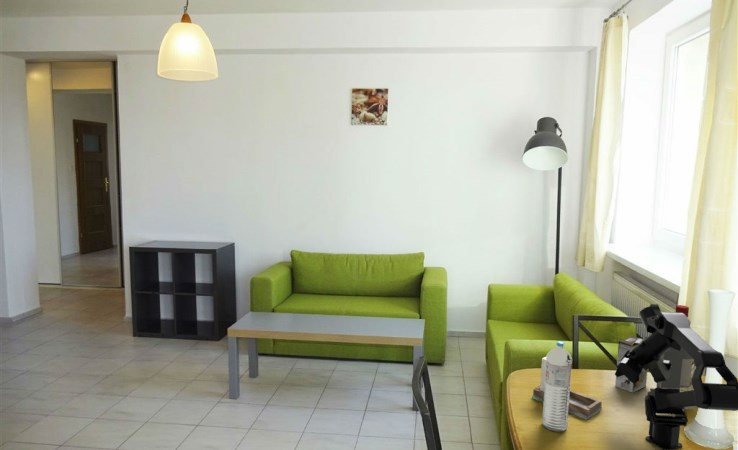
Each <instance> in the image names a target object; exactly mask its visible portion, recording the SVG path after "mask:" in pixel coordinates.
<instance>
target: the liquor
mask: <svg viewBox="0 0 738 450" xmlns="http://www.w3.org/2000/svg"><path fill="white" fill-rule="evenodd" d="M675 312H677V313H684V314H685V315H686V317H687V318H689V312H690V307H689V306H687V305H683V304H682V305H681V304H677V305H676V306H675ZM660 358H661V359H663V360H667V361H670V362H671V363H672V367H671V369H670V370H669V371H670V372H671V373H670V377H669V379H668V381H664V382H659V383H656V387H655V388H674V389H680V392H685V391H692V390H693V386H692V381H691V380H692V377H693V374H694V371H695V369H696V366H695V362H694V359H693V358H692V357H691V356H690V355H689V354H688V353H687V352H686V351H685V350H684V349H683V348H682V347H681V350H680V351H678V350H675V349H673V348H671V349H669V350H668V351H667V352H665V353H664V354H663V355H662V356H661V357H660Z"/></svg>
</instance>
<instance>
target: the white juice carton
mask: <svg viewBox="0 0 738 450" xmlns="http://www.w3.org/2000/svg"><path fill="white" fill-rule="evenodd" d="M546 363H547V360H546V356H544V357H542V358H541V369H540V370H541V371H540V382H539V383H540V385H539V386H540V390H541V391H543V392H544V386H545V378H546Z"/></svg>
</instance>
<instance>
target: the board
mask: <svg viewBox="0 0 738 450" xmlns="http://www.w3.org/2000/svg"><path fill="white" fill-rule="evenodd" d="M532 393H533V394H532V395H531V399H533V400H536V401H539V402H541V403H543V402H544V392H543V391H541V390H540V385H538V386H536V387H535V388H534V389H533V391H532ZM602 404H603V403H602V400H599V399H597V398H594V397H591V396H588V395H585V394H583V393H580V392H576V391H574V390H571V389H570V397H569V411H568V414H571V415H575V416H577V417H579V418H581V419H584V420H589V419H590V418H591V417H593V416H594V415H596V414H598V413H599V412H600V411H601V410H603V407H602Z"/></svg>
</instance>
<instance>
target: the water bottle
mask: <svg viewBox="0 0 738 450" xmlns="http://www.w3.org/2000/svg"><path fill="white" fill-rule="evenodd" d="M564 344H565V343H564V342H563V341H560V340H559V341H556V346H554V347H553V348H552V349H551V350H549V351H548V352H547V354H546V356H545V357H546V360H547V363H546V378H545V386H544V402H542V405H543V407H542V420H541V421H542V426H543V427H544V428H545V429H546V430H548V431H552V432H557V433H558V432H559V433H562V432H565V431H566V430H567V428H568V421H569V412H568V411H569V397H570V390H571V376H572V375H571V374H572V364H573V358H572V355H571V354H570V352H569V351H568V350H567V349H565V348H564Z"/></svg>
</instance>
